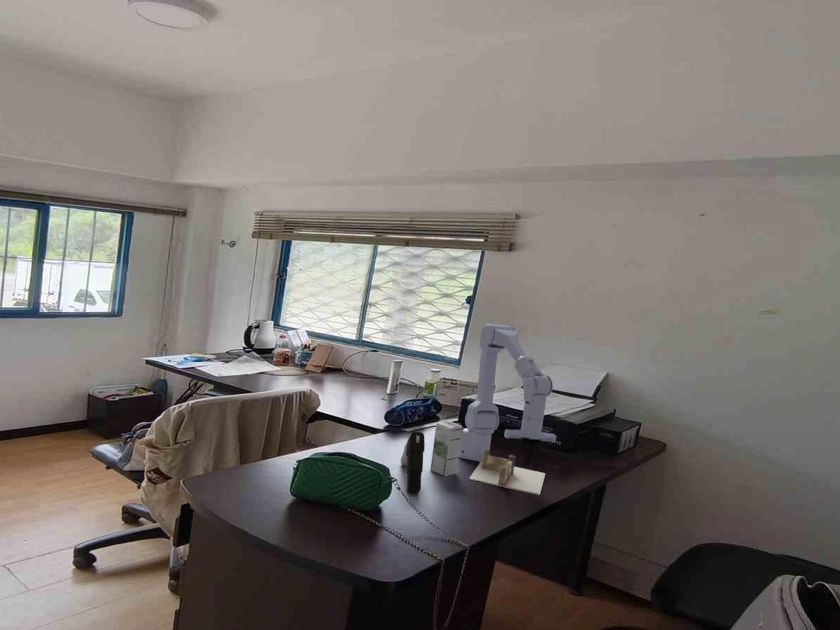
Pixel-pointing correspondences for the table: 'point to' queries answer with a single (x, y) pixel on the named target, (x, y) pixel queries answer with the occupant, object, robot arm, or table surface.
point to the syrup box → (446, 448)
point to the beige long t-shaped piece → (505, 473)
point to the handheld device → (414, 460)
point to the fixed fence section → (496, 462)
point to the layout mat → (512, 479)
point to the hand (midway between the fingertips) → (526, 464)
